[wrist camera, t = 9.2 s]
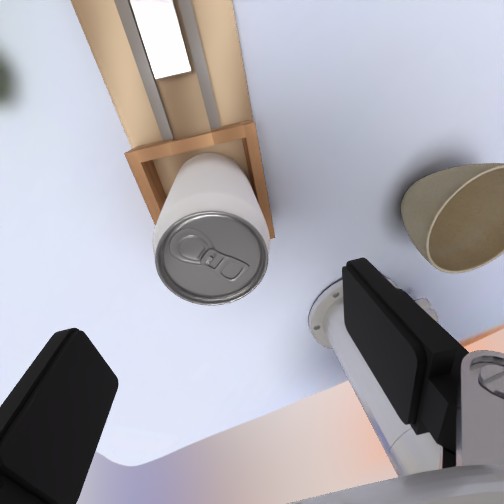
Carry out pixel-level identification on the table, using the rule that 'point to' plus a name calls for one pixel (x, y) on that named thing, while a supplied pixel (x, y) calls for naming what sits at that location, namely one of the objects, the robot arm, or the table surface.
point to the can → (211, 233)
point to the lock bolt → (162, 38)
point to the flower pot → (457, 216)
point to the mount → (177, 95)
